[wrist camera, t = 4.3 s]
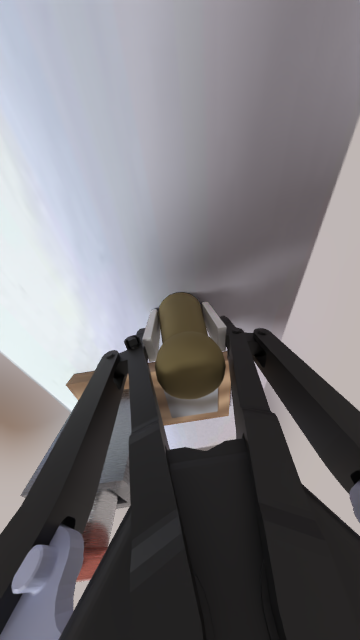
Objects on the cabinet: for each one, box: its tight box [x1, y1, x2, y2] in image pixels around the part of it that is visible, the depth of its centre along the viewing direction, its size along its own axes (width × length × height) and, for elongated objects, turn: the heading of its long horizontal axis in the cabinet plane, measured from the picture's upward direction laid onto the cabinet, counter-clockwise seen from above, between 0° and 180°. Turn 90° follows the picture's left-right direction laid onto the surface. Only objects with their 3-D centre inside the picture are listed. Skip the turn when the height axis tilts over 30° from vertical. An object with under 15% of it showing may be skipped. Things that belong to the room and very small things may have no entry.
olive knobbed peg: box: [155, 292, 226, 399], centre depth 13 cm, size 6×6×11 cm
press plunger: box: [76, 489, 119, 582], centre depth 15 cm, size 7×7×9 cm
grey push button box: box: [21, 389, 131, 509], centre depth 20 cm, size 10×10×10 cm
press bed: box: [66, 351, 231, 426], centre depth 25 cm, size 16×26×3 cm, turn 97°
